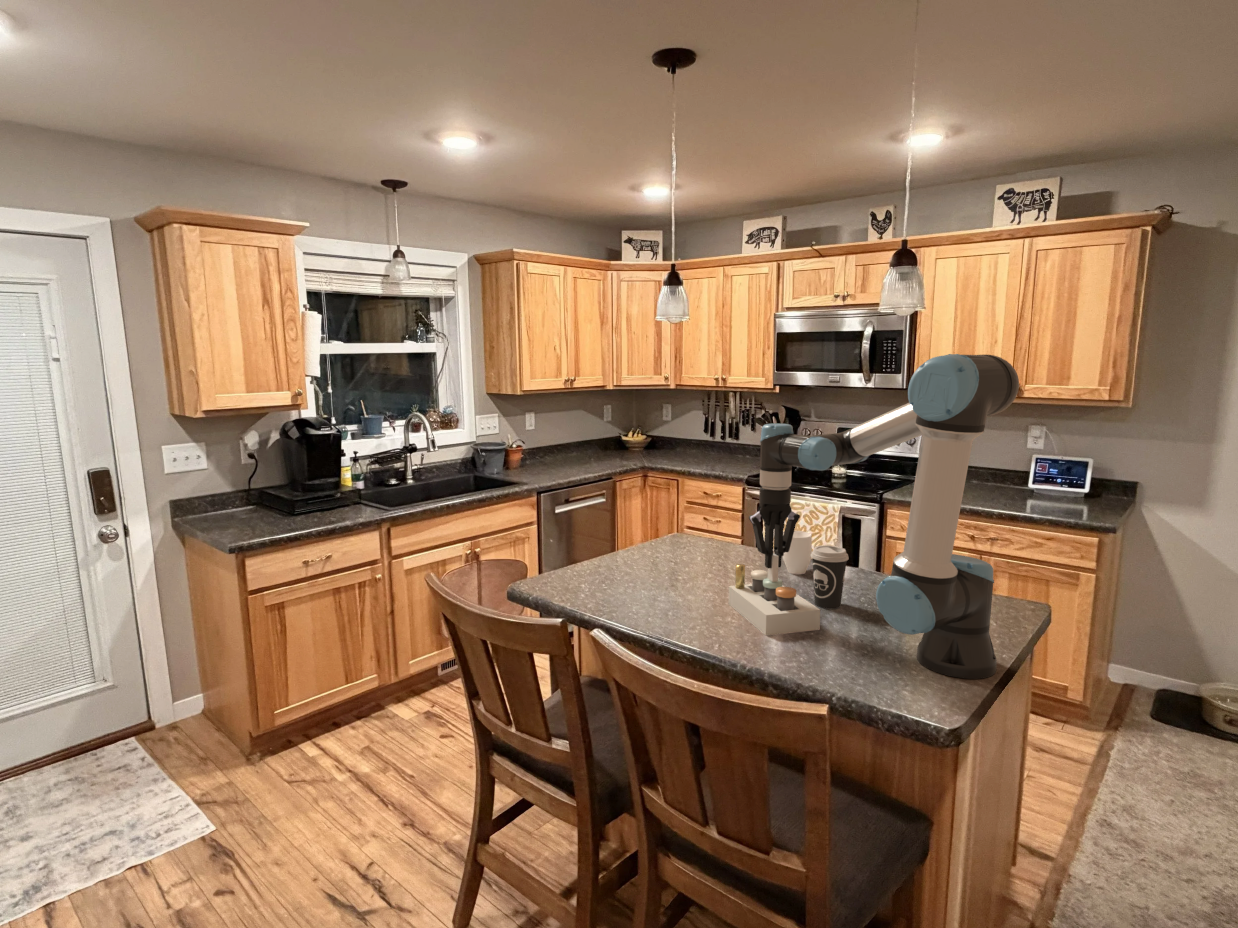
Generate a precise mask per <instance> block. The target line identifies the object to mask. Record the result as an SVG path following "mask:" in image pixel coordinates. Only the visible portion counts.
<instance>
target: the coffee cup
mask: <svg viewBox="0 0 1238 928" xmlns="http://www.w3.org/2000/svg"><path fill="white" fill-rule="evenodd" d="M810 556H811V561H812V576H813V579H812V580H813V593H814V594H813V595H814V604H815V605H814V606H816V607H817V608H818V607H819V608H821V609H827V610H828V609H829V610H835V609H839V608H841V605H842V596H843V590H844V581H845V574H846V568H847V561H848V560H849V554H848V553H847V550H846V548H843V547H841V546H836V545H829V544H827V545H826V544H825V545H824V544H823V545H822V544H821V545H815V546H814V548H813V549H812V553H811V555H810Z"/></svg>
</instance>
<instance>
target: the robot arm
mask: <svg viewBox="0 0 1238 928" xmlns="http://www.w3.org/2000/svg"><path fill="white" fill-rule="evenodd" d="M1019 379H1020V378H1019V375H1018V373H1017V370H1016V369H1015V368H1014V367H1013V365H1012V364H1011V363H1010V362H1009V361H1007V360H1006V359H1004V358H1002V357H1001V356H997V355H994V354H959V353H955V354H953V353H949V354H944V355H939V356H934V357H932V358H929V359H928V360H926V361H925V362H923V363H922V364H920V365H919V366H918V368H917V369H916V370H915V371H914V372H913V374H912V376H911V378H910V379H909V383H908V388H907V399H908V402H907V403H905V404H902V405H901V406H898V407H896V408H893V409H891V410H889V411H887V412H885V413H883V414H880V415H878V416H875V417H873V418H871V419H869V420H866V421H865V422H862V423H860V424H858V425H856V426H854V427H851V428H849V429H847V430H844V431H841V432H838V433H835V432H834V433H826V434H825V433H824V434H814V435H813V434H812V435H805V434H804V435H803V434H794V429H793V428H794V427H793V425H791V424H788V423H766V424H765V423H764V425H762V427H761V433H760V440H759V443H760V451H759V452H760V454H759V455H760V459H759V463H760V465H759V485H760V487H759V494H758V495H759V498H758V499H759V500H758V502H759V505H758V508H757V511H756V512H755V513H754V514H753V515H752V514H750V515H749V516H748V520H749V521H750V522H751V524H752V529H753V530H752V531H753V534H754V539H755V542H756V543H755V544H756V548H757V549H756V550H757V551H758V552H759V553H761V554H762V555H764V566H765V567H766V568H767V571H768V578H767V579H769V580H770V581H772V582H778V579H779V568H781V567H782V560H783V555H784V553H785V552H789V549H790V546H791V542H792V538H793V534H794V531H796V529H795V528H796V525H797V523H798V521H799V519H800V517H801V515H800V514H798V513H796V512H794V511H792V507H791V500H792V490H791V488H790V487H791V486H792V470H793V469H792V468H793V467H796V468H802V469H806V470H809V471H822V472H823V471H826V470H828V469H830V467H832V466H838V465H839V466H841V465H846V464H847V465H853V464H857V463H860V462H864V461H866V460H868V459H869V457H870V456H871V455H874V454H876V453H879V452H881V451H884V450H887V449H890V448H893V447H895V446H898V445H900V444H903V443H905V442H907V441H908V442H909V441H911V440H913V439H916V438H918V437H920V436H921V441H920V448H919V452H918V460H917V466H916V471H915V478H914V485H913V489H912V497H911V502H910V507H909V508H910V509H909V515H908V522H907V527H906V533H905V534H906V535H905V539H904V544H903V545H904V546H903V551H902V552H901V553H899V554H897V555H896V556H894V557H893V561H892V566H891V574H890V575H889V576H886V577H885V578H884V579H883V580H881V581H880V583H879V584H878V585H877V588H876V591H875V598H876V599H875V600H876V605H877V608H878V610H879V613H880V614H881V615H883V618H884V621H885V622H886V623H887V624H888V625H889V626H891V628H893V629H894V630H896V631H898V632H899V633H901V634H906V635H918V634H922V637H921V639H920V642H918V645H917V648H916V659H917V661H918V662H919V664H921V665H922V666H923V667H924V668H926V669H928V670H930V671H933V672H935V673H938V674H941V675H945V676H949V677H953V678H959V679H968V680H971V679H972V680H974V679H976V680H977V679H985V678H990V677H992V676H993V675H995V674H996V672H997V665H998V664H997V663H998V662H997V661H998V660H997V656H996V654H995V648H994V645H993V643H992V639H991V635H990V627H991V626H990V625H991V614H992V604H993V602H992V601H993V592H994V591H993V588H994V583H995V580H994V567H993V566H992V565H991V564H990V563H989V562H987V561H985V560H983V559H980V558H977V557H976V558H975V557H972V556H966V555H962V554H955V553H953V551H954V545H955V540H956V534H957V531H958V530H957V529H958V525H959V524H958V523H959V519H960V512H961V507H962V502H963V501H962V500H963V496H964V490H965V486H966V479H967V475H968V468H969V462H970V459H971V458H970V457H971V454H972V453H971V451H972V447H973V442H974V440H975V439H976V438H978V437H979V436H981V435H983V434H984V432H985V428H986V422H987V417H989V416H993V415H997V414H999V413H1001V412H1003V411H1006V409H1008V407H1010V406H1011V405H1012V404H1013V402H1014V401H1015V400H1016V398H1017V397H1018V392H1019V388H1020V381H1019ZM761 521H763V526H764V532H763V528H762V527H763V526H762V524H761ZM785 522H786V523H785ZM783 532H784V535H783Z"/></svg>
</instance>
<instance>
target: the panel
mask: <svg viewBox="0 0 1238 928" xmlns="http://www.w3.org/2000/svg"><path fill="white" fill-rule="evenodd" d="M782 587H786V586H785V585H783V586H782ZM728 605H729V606H730V607H731V608H732V609H734V610H735V611H736V612H737V613H738V614H739V615H740V616H742V617H743V618H744V619H746V620H747V621H748V622H749V623H750V624H751V625H753V626H754V627H755V628H756V629H757V630H758V631H759V632H761V633H762V634H763V635H764V636H767V637H769V636H774V635H784V634H792V633H793V634H794V633H803V632H810V631H811V632H812V631H820V630H821V629H820V628H821V627H820V626H821V609H820V607H819V608H818V606H816V605H814V604H812V603H811V602H810V601H809V600H807V599H805V598H803V597H802V596H800V595H799V594H798V593H796V597H794V610H788V611H780V610H779V609H777V601H766V600H765V599H764V592H754V591H753V590H752V583H745V588H744V589H737V588H735V584H733V585H729V586H728Z"/></svg>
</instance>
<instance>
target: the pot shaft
mask: <svg viewBox="0 0 1238 928" xmlns="http://www.w3.org/2000/svg"><path fill="white" fill-rule="evenodd" d="M745 578H746V564H742V563H737V564H735V578H734V579H735V581H734V585H735V588H737V589H744V588H745V584H746V583H745V582H746V581H745Z"/></svg>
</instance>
